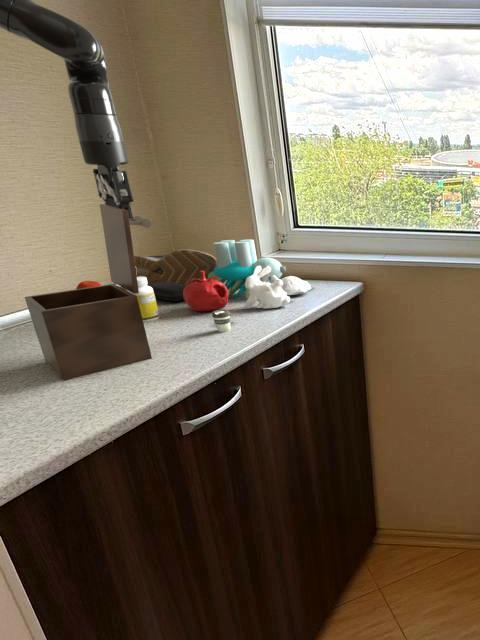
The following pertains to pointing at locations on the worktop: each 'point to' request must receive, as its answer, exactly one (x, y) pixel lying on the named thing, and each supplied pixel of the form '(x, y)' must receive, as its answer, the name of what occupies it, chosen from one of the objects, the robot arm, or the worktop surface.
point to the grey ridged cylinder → (222, 320)
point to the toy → (241, 265)
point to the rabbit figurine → (265, 291)
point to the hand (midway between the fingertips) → (121, 221)
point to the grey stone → (294, 285)
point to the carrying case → (168, 290)
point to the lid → (121, 245)
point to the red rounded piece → (87, 284)
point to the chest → (89, 329)
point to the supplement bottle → (146, 301)
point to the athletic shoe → (175, 266)
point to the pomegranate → (206, 294)
